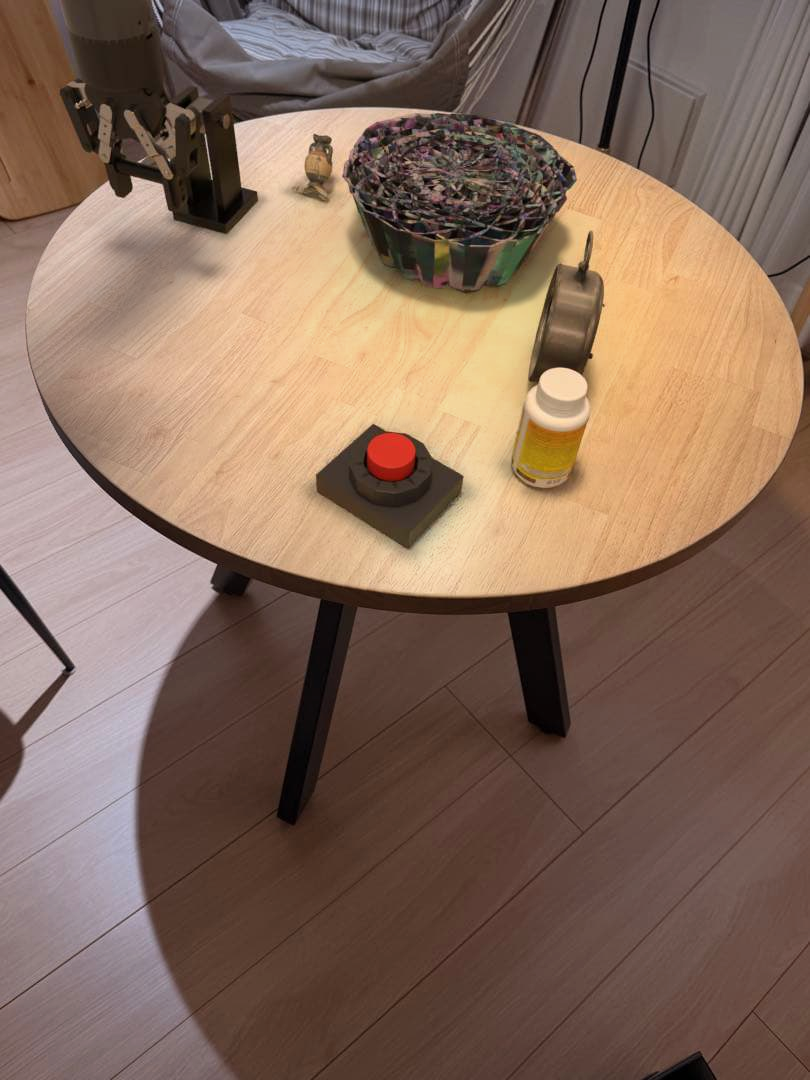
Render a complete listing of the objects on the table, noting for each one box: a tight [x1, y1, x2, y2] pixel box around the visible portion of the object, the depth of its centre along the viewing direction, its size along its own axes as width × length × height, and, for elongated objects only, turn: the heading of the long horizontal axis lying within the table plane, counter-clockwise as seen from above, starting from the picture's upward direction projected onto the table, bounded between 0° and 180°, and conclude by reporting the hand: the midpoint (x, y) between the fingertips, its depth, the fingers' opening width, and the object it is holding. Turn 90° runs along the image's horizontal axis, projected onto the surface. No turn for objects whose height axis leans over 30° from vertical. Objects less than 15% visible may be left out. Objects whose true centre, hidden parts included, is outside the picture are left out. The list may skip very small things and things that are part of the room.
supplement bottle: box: [511, 368, 591, 489], centre depth 68 cm, size 6×6×10 cm
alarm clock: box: [527, 230, 606, 384], centre depth 73 cm, size 11×5×16 cm, turn 168°
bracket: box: [170, 85, 259, 235], centre depth 89 cm, size 8×7×13 cm
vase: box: [290, 133, 334, 201], centre depth 96 cm, size 5×5×6 cm
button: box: [367, 433, 416, 482], centre depth 66 cm, size 4×4×2 cm
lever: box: [115, 96, 215, 185], centre depth 83 cm, size 14×6×2 cm, turn 159°
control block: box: [315, 423, 465, 549], centre depth 68 cm, size 10×8×4 cm
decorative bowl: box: [341, 112, 578, 294], centre depth 90 cm, size 26×28×10 cm
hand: (150, 200), depth 82 cm, fingers closed on lever, 5 cm apart
